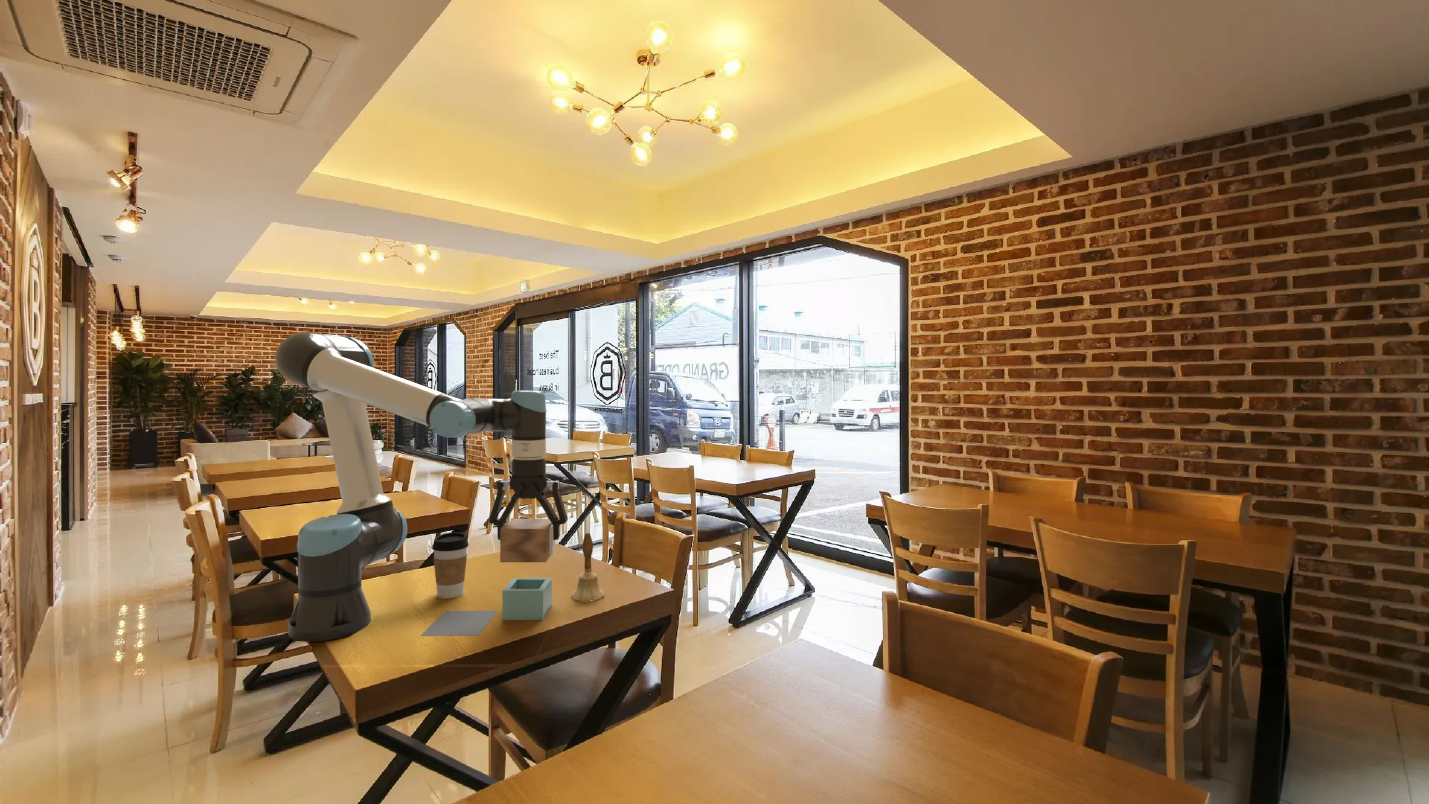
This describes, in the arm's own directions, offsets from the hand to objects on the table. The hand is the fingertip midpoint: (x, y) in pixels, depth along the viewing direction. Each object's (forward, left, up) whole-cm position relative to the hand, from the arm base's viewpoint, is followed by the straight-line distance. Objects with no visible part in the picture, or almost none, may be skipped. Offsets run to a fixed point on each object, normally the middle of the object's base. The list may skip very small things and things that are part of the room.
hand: (528, 553), depth 144 cm
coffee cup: (-22, +12, -14) cm, 29 cm away
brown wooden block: (0, 0, -1) cm, 1 cm away
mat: (-13, -6, -14) cm, 20 cm away
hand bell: (+12, +12, -14) cm, 22 cm away
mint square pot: (0, 0, -14) cm, 14 cm away
